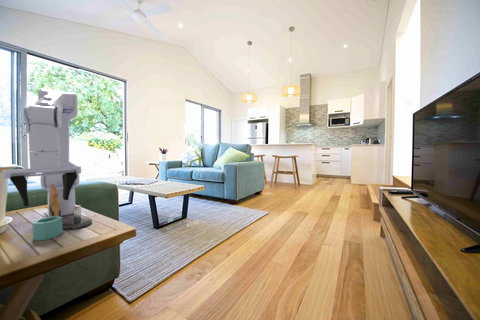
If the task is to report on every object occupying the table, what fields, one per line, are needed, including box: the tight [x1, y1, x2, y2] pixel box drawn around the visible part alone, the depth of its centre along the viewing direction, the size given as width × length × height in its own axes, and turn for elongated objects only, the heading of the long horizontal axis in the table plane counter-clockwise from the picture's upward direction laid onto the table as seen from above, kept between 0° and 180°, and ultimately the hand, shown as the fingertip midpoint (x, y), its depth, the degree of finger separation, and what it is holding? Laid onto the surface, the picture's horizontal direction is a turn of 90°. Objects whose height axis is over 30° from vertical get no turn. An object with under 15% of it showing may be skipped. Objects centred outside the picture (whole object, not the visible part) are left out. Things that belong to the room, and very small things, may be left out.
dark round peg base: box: [62, 204, 93, 231], centre depth 60 cm, size 7×7×6 cm
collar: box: [32, 216, 64, 241], centre depth 53 cm, size 5×5×4 cm
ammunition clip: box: [49, 184, 62, 217], centre depth 61 cm, size 11×2×12 cm, turn 48°
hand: (47, 202), depth 52 cm, fingers open, 7 cm apart
